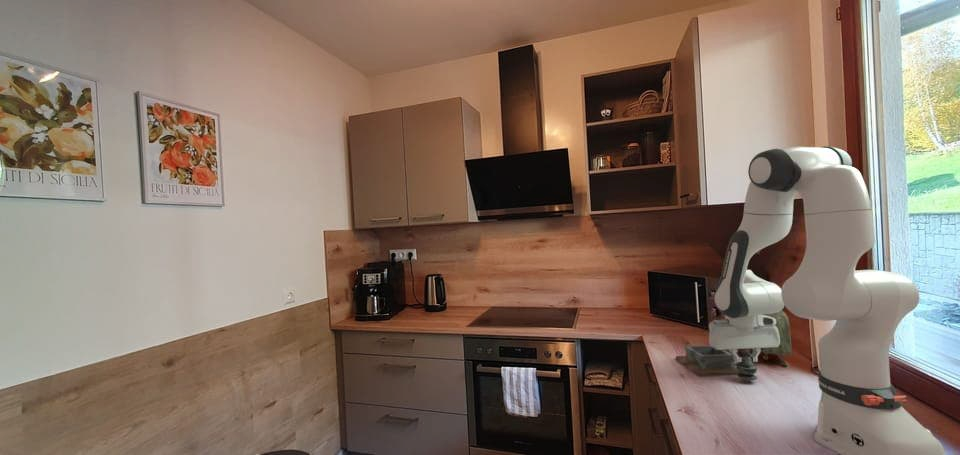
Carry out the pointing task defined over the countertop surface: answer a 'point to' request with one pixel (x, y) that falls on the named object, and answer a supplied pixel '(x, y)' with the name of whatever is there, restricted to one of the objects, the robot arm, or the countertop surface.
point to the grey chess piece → (746, 365)
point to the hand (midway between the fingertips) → (745, 361)
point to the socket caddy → (708, 361)
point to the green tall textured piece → (784, 334)
